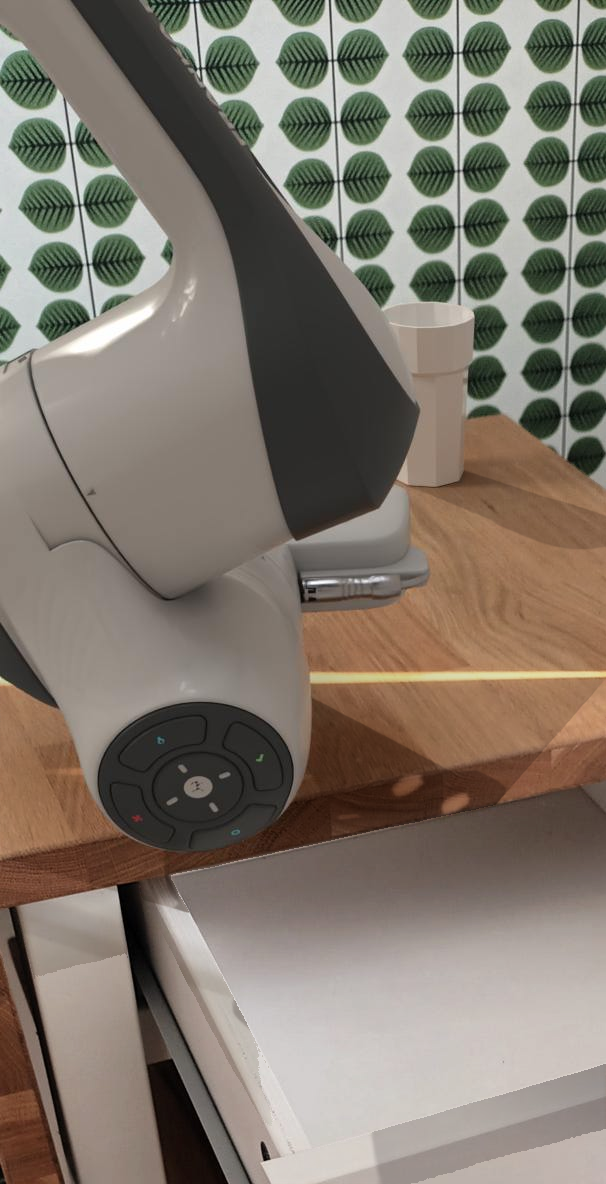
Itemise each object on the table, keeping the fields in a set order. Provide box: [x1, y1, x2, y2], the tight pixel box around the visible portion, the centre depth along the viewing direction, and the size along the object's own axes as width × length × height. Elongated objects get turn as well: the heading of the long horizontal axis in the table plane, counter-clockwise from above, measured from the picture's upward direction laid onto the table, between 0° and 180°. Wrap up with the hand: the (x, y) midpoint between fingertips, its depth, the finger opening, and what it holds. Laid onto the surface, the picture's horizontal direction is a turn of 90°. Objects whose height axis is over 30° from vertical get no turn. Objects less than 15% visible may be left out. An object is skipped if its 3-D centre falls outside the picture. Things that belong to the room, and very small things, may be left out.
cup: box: [381, 301, 476, 488], centre depth 109 cm, size 7×7×11 cm
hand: (199, 487), depth 79 cm, fingers closed on sauce bottle, 6 cm apart
